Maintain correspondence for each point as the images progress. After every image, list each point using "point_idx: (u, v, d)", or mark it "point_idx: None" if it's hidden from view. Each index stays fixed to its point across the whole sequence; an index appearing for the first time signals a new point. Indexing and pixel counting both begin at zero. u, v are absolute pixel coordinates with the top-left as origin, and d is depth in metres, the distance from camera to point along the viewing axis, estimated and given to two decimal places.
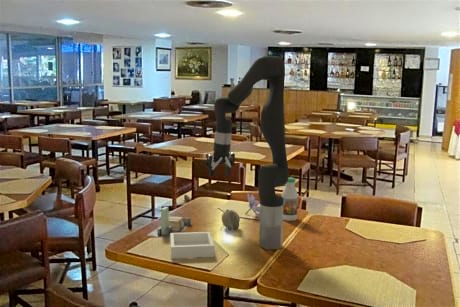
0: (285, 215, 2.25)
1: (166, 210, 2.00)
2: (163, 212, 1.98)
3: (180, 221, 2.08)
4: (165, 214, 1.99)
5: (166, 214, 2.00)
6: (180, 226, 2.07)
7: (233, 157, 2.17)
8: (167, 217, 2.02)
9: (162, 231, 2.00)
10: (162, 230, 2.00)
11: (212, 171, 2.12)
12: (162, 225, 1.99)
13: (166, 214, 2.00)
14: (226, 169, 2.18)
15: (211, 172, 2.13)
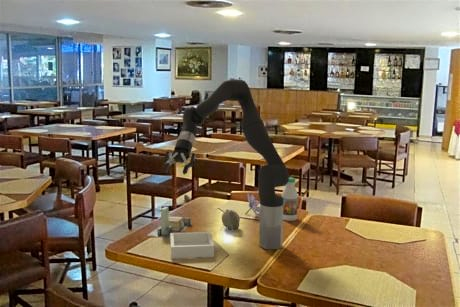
0: (285, 215, 2.25)
1: (166, 210, 2.00)
2: (163, 212, 1.98)
3: (180, 221, 2.08)
4: (165, 214, 1.99)
5: (166, 214, 2.00)
6: (180, 226, 2.07)
7: (192, 156, 2.11)
8: (167, 217, 2.02)
9: (162, 231, 2.00)
10: (162, 230, 2.00)
11: (166, 165, 2.11)
12: (162, 225, 1.99)
13: (166, 214, 2.00)
14: None
15: (165, 166, 2.11)
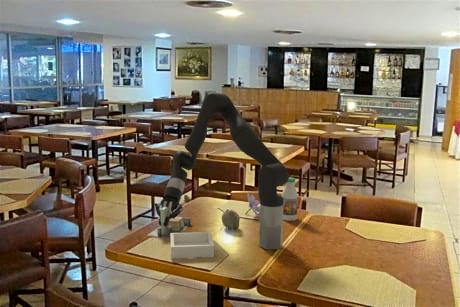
0: (285, 215, 2.25)
1: (165, 210, 2.00)
2: (162, 212, 1.98)
3: (180, 221, 2.08)
4: (164, 214, 1.99)
5: (165, 214, 2.00)
6: (180, 226, 2.07)
7: (178, 208, 2.01)
8: None
9: (162, 231, 2.00)
10: (161, 230, 2.00)
11: (160, 218, 2.01)
12: (162, 225, 1.99)
13: (165, 214, 2.00)
14: None
15: (160, 219, 2.01)
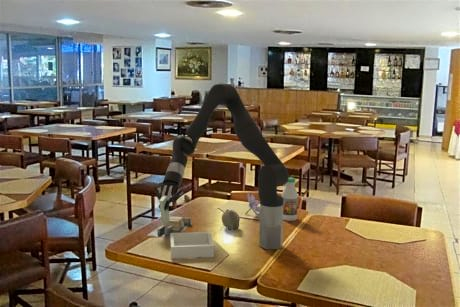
0: (285, 215, 2.25)
1: (164, 200, 1.98)
2: (161, 203, 1.96)
3: (180, 221, 2.08)
4: (163, 205, 1.97)
5: None
6: (180, 226, 2.07)
7: (178, 192, 2.00)
8: None
9: (163, 221, 2.00)
10: (162, 220, 1.99)
11: None
12: (162, 215, 1.99)
13: (164, 204, 1.98)
14: None
15: None
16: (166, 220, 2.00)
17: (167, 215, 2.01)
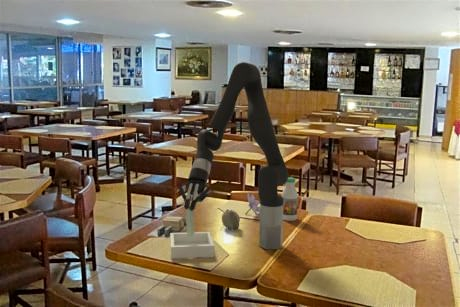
0: (285, 215, 2.25)
1: None
2: (188, 213, 1.81)
3: (180, 221, 2.08)
4: (190, 215, 1.81)
5: (191, 214, 1.83)
6: (180, 226, 2.07)
7: (205, 191, 1.83)
8: (192, 217, 1.84)
9: (188, 233, 1.83)
10: (188, 232, 1.83)
11: (186, 201, 1.83)
12: (188, 227, 1.82)
13: (191, 214, 1.82)
14: None
15: (185, 203, 1.83)
16: (191, 233, 1.84)
17: (193, 227, 1.85)
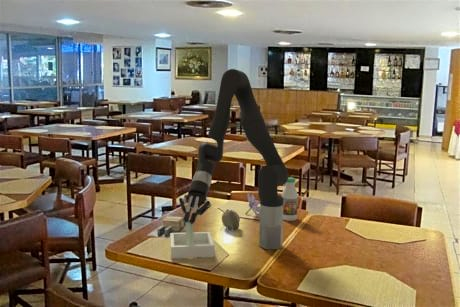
0: (285, 215, 2.25)
1: None
2: (187, 226, 1.80)
3: (180, 221, 2.08)
4: (190, 228, 1.81)
5: (191, 228, 1.82)
6: (180, 226, 2.07)
7: (205, 204, 1.83)
8: (192, 230, 1.84)
9: None
10: None
11: (186, 214, 1.82)
12: (187, 240, 1.82)
13: (191, 228, 1.82)
14: None
15: (185, 215, 1.82)
16: None
17: (192, 240, 1.84)
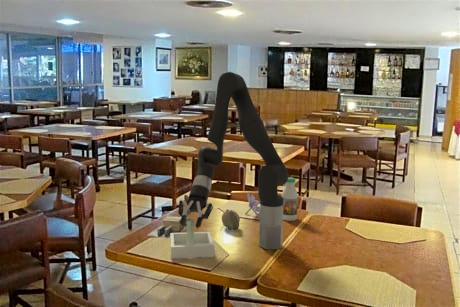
0: (285, 215, 2.25)
1: (192, 222, 1.83)
2: (188, 225, 1.82)
3: None
4: (190, 227, 1.82)
5: (192, 227, 1.83)
6: (180, 226, 2.07)
7: (208, 207, 1.84)
8: (193, 230, 1.85)
9: None
10: None
11: (182, 217, 1.84)
12: (188, 239, 1.83)
13: (191, 227, 1.83)
14: None
15: (181, 219, 1.84)
16: None
17: (192, 241, 1.85)
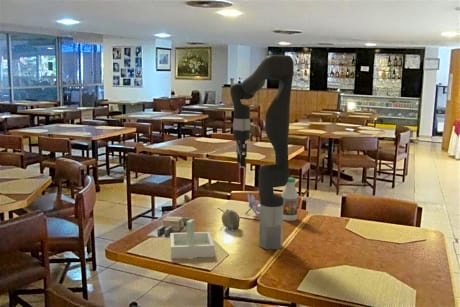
0: (285, 215, 2.25)
1: (192, 222, 1.83)
2: (188, 225, 1.82)
3: (180, 221, 2.08)
4: (190, 227, 1.82)
5: (192, 227, 1.83)
6: (180, 226, 2.07)
7: (241, 147, 2.06)
8: (193, 230, 1.85)
9: None
10: (187, 244, 1.83)
11: None
12: (188, 239, 1.83)
13: (191, 227, 1.83)
14: None
15: None
16: None
17: (192, 241, 1.85)
